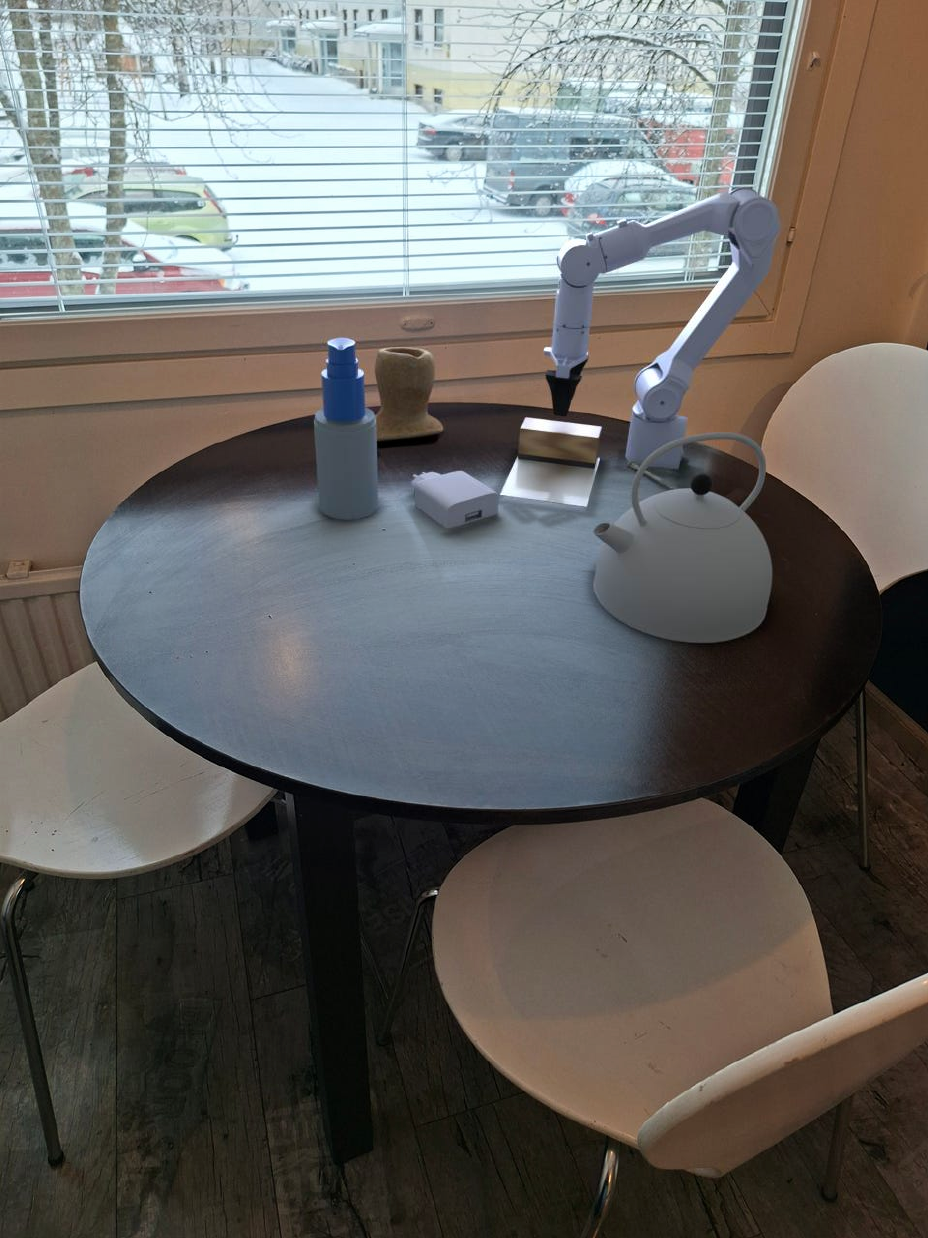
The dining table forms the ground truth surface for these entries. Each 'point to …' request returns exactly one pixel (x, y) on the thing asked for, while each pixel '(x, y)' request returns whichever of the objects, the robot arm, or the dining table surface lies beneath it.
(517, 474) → the whiteboard
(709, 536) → the kettle
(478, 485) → the charger
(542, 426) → the eraser
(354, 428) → the spray bottle
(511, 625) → the dining table surface
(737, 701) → the dining table surface
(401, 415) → the stone cup
